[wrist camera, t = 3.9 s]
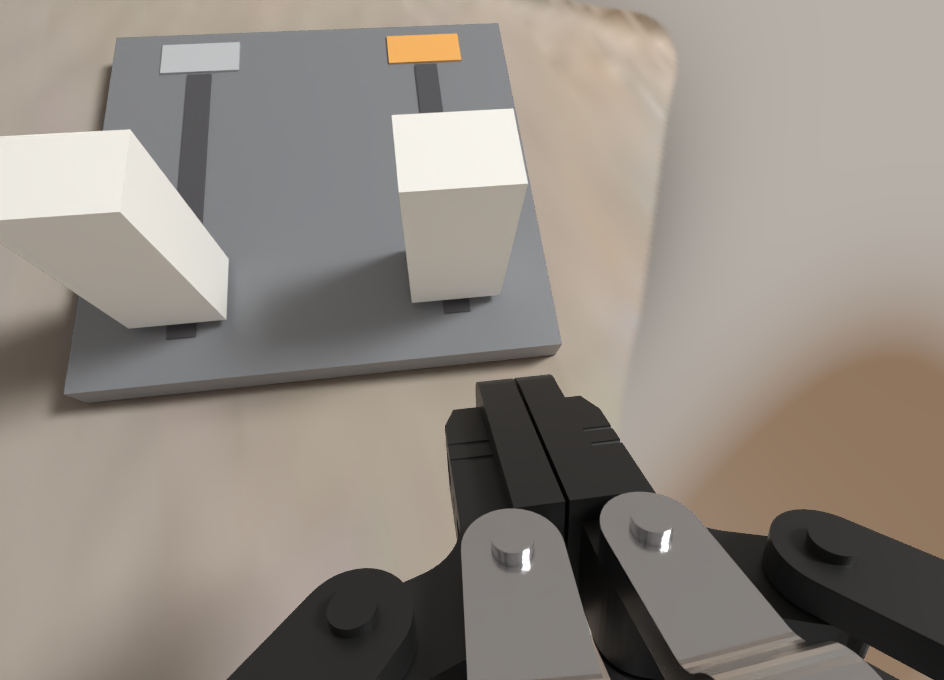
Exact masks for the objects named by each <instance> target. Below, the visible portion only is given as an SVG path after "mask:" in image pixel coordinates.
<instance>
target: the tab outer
mask: <svg viewBox="0 0 944 680" xmlns="http://www.w3.org/2000/svg"><path fill="white" fill-rule="evenodd" d="M392 125H393V136H394V147H395V157H396V168H397V179H398V190H399V199H400V207H401V215H402V224H403V232H404V241H405V249H406V258H407V266H408V274H409V283H410V291H411V300H412V303H417V302H428V301H439V300H450V299H461V298H472V297H483V296H494V295H500V293H501V289H502V285H503V281H504V277H505V273H506V269H507V265H508V261H509V257H510V253H511V249H512V245H513V241H514V237H515V233H516V229H517V225H518V221H519V217H520V213H521V209H522V205H523V201H524V198H525V194H526V190H527V186H528V181H527V176H526V171H525V166H524V161H523V155H522V150H521V145H520V140H519V135H518V130H517V125H516V120H515V115H514V110H513V108H512V109H493V110H475V111H457V112H438V113H420V114H402V115H392Z"/></svg>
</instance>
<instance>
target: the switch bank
mask: <svg viewBox="0 0 944 680" xmlns="http://www.w3.org/2000/svg"><path fill="white" fill-rule="evenodd" d="M512 108H513V110H514V115H515V120H516V125H517V130H518V135H519V140H520V145H521V150H522V155H523V161H524V166H525V171H526V176H527V181H528V186H527V190H526V194H525V198H524V201H523V205H522V209H521V213H520V217H519V221H518V225H517V229H516V233H515V237H514V241H513V245H512V249H511V253H510V257H509V261H508V265H507V269H506V273H505V277H504V281H503V285H502V289H501V293H500V295H494V296H483V297H472V298H461V299H450V300H439V301H428V302H417V303H412V300H411V291H410V283H409V274H408V266H407V258H406V249H405V241H404V232H403V224H402V215H401V207H400V199H399V190H398V179H397V168H396V157H395V147H394V136H393V125H392V115H402V114H420V113H438V112H457V111H475V110H493V109H512ZM128 129H130V130H131V131H132V132H133V134H134V135H135V136H136V138H137V139H138V140H139V142H140V143H141V144H142V146H143V147H144V148H145V149H146V151H147V152H148V153H149V155H150V156H151V157H152V159H153V160H154V161H155V163H156V164H157V165H158V167H159V168H160V169H161V170H162V172H163V173H164V174H165V176H166V177H167V178H168V180H169V181H170V182H171V184H172V185H173V186H174V188H175V189H176V190H177V192H178V193H179V194H180V195H181V197H182V198H183V199H184V201H185V202H186V203H187V205H188V206H189V207H190V209H191V210H192V211H193V213H194V214H195V215H196V216H197V218H198V219H199V220H200V222H201V223H202V224H203V226H204V227H205V228H206V230H207V231H208V232H209V234H210V235H211V236H212V238H213V239H214V240H215V241H216V243H217V244H218V245H219V247H220V248H221V249H222V251H223V252H224V253H225V255H226V256H227V257H228V259H229V265H228V290H227V316H226V320H218V321H207V322H196V323H185V324H174V325H163V326H152V327H141V328H130V329H128V328H127V327H125V326H124V325H122V324H121V323H119V322H118V321H116V320H115V319H113V318H112V317H110V316H109V315H107V314H106V313H104V312H103V311H101V310H100V309H98V308H97V307H95V306H94V305H92V304H91V303H89V302H88V301H86V300H85V299H83V298H82V297H80V296H79V295H78V300H77V307H76V314H75V321H74V327H73V334H72V341H71V348H70V354H69V361H68V368H67V375H66V381H65V388H64V395H67V396H69V397H72V398H75V399H77V400H80V401H83V402H85V403H92V402H102V401H112V400H122V399H131V398H141V397H151V396H160V395H170V394H180V393H189V392H199V391H209V390H218V389H228V388H238V387H248V386H257V385H267V384H277V383H286V382H296V381H306V380H315V379H325V378H335V377H344V376H354V375H364V374H373V373H383V372H393V371H403V370H412V369H422V368H432V367H441V366H451V365H461V364H470V363H480V362H490V361H499V360H509V359H519V358H528V357H538V356H548V355H555V354H556V352H557V351H558V349H559V348H560V346H561V344H562V342H561V337H560V332H559V327H558V322H557V317H556V312H555V307H554V302H553V297H552V292H551V287H550V282H549V277H548V272H547V267H546V262H545V257H544V252H543V247H542V242H541V237H540V232H539V227H538V222H537V217H536V211H535V206H534V201H533V196H532V191H531V186H530V181H529V176H528V171H527V166H526V161H525V156H524V151H523V146H522V141H521V136H520V131H519V126H518V121H517V116H516V111H515V106H514V101H513V96H512V91H511V86H510V81H509V76H508V70H507V65H506V60H505V55H504V50H503V45H502V40H501V35H500V30H499V25H498V23H492V24H465V25H439V26H413V27H387V28H361V29H334V30H308V31H282V32H256V33H230V34H203V35H177V36H151V37H125V38H116V45H115V51H114V58H113V65H112V72H111V78H110V85H109V92H108V99H107V105H106V112H105V119H104V126H103V131H110V130H128Z"/></svg>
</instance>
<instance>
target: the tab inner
mask: <svg viewBox="0 0 944 680" xmlns="http://www.w3.org/2000/svg"><path fill="white" fill-rule="evenodd" d="M0 243H1V244H2V245H4V246H5V247H7V248H8V249H10V250H11V251H13V252H14V253H16V254H17V255H19V256H20V257H22V258H23V259H25V260H26V261H28V262H29V263H31V264H32V265H34V266H35V267H37V268H38V269H40V270H41V271H43V272H44V273H46V274H47V275H49V276H50V277H52V278H53V279H55V280H56V281H58V282H59V283H61V284H62V285H64V286H65V287H67V288H68V289H70V290H71V291H73V292H74V293H76V294H77V295H79V296H80V297H82V298H83V299H85V300H86V301H88V302H89V303H91V304H92V305H94V306H95V307H97V308H98V309H100V310H101V311H103V312H104V313H106V314H107V315H109V316H110V317H112V318H113V319H115V320H116V321H118V322H119V323H121V324H122V325H124V326H125V327H127V328H128V329H130V328H141V327H152V326H163V325H174V324H185V323H196V322H207V321H218V320H226V316H227V290H228V265H229V259H228V257H227V256H226V255H225V253H224V252H223V251H222V249H221V248H220V247H219V245H218V244H217V243H216V241H215V240H214V239H213V238H212V236H211V235H210V234H209V232H208V231H207V230H206V228H205V227H204V226H203V224H202V223H201V222H200V220H199V219H198V218H197V216H196V215H195V214H194V213H193V211H192V210H191V209H190V207H189V206H188V205H187V203H186V202H185V201H184V199H183V198H182V197H181V195H180V194H179V193H178V192H177V190H176V189H175V188H174V186H173V185H172V184H171V182H170V181H169V180H168V178H167V177H166V176H165V174H164V173H163V172H162V170H161V169H160V168H159V167H158V165H157V164H156V163H155V161H154V160H153V159H152V157H151V156H150V155H149V153H148V152H147V151H146V149H145V148H144V147H143V146H142V144H141V143H140V142H139V140H138V139H137V138H136V136H135V135H134V134H133V132H132V131H131V130H130V129H128V130H110V131H91V132H73V133H55V134H37V135H18V136H0Z"/></svg>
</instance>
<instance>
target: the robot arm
mask: <svg viewBox="0 0 944 680" xmlns="http://www.w3.org/2000/svg"><path fill="white" fill-rule="evenodd" d="M445 434H446V447H447V459H448V472H449V484H450V493H451V501H452V508H453V515H454V522H455V529H456V536H457V543H456V545H455V547H454V548H453V550H452V551H451V553H450V554H449V555H448V556H447V558H446V559H444V560H443V561H442V562H441V563H440V564H439V565H437V566H436V567H434V568H433V569H431V570H429V571H428V572H426V573H424V574H422V575H419V576H417V577H415V578H413V579H410V580H408V581H406V582H404V583H403V582H402V581H401V580H400V579H399V578H397V577H396V576H394V575H393V574H391V573H388V572H386V571H383V570H379V569H371V568H363V569H355V570H350V571H346V572H344V573H341V574H338V575H336V576H334V577H332V578H330V579H328V580H327V581H325V582H324V583H323V584H321V585H320V586H319V587H317V588H316V589H315V590H314V591H313V592H312V593H311V594H310V595H309V596H308V597H307V598H306V599H305V600H304V601H303V602H302V603H301V604H300V605H299V606H298V607H297V608H296V609H295V610H294V611H293V612H292V613H291V614H290V615H289V616H288V617H287V618H286V619H285V620H284V621H283V622H282V624H281V625H280V626H279V627H278V628H277V629H276V630H275V631H274V632H273V633H272V634H271V635H270V636H269V637H268V638H267V639H266V640H265V641H264V642H263V643H262V644H261V645H260V646H259V647H258V648H257V649H256V650H255V651H254V652H253V653H252V654H251V655H250V656H249V657H248V658H247V659H246V660H245V661H244V662H243V663H242V664H241V665H240V666H239V667H238V668H237V670H236V671H235V672H234V673H233V674H232V675H231V676H230V677H229V678H228V679H227V680H899V679H897V678H895V677H893V676H891V675H890V674H888V673H886V672H884V671H882V670H880V669H879V668H877V667H875V666H873V665H871V664H870V663H868V662H866V661H864V658H865V655H866V653H867V650H868V648H869V646H872V647H874V648H876V649H877V650H879V651H881V652H883V653H885V654H887V655H888V656H890V657H892V658H894V659H896V660H898V661H900V662H902V663H903V664H906V665H907V666H909V667H911V668H913V669H915V670H917V671H918V672H920V673H922V674H924V675H926V676H928V677H930V678H931V679H933V680H944V560H943V559H940V558H938V557H936V556H933V555H931V554H928V553H926V552H923V551H921V550H919V549H916V548H914V547H912V546H909V545H907V544H904V543H902V542H899V541H897V540H895V539H892V538H890V537H887V536H885V535H883V534H880V533H878V532H875V531H873V530H871V529H868V528H866V527H863V526H861V525H858V524H856V523H854V522H851V521H849V520H846V519H844V518H841V517H838V516H836V515H833V514H829V513H825V512H821V511H816V510H806V509H802V510H792V511H787V512H784V513H782V514H780V515H779V516H777V517H776V518H775V519H774V520H773V522H772V524H771V526H770V530H769V534H768V536H761V535H752V534H745V533H736V532H728V531H721V530H714V529H710V528H707V527H705V526H704V525H703V524H702V522H701V521H700V520H699V519H698V518H697V517H696V515H694V514H693V512H692V511H691V510H689V509H688V508H687V507H685V506H684V505H682V504H681V503H679V502H678V501H675V500H673V499H671V498H669V497H666V496H663V495H660V494H656V493H655V491H654V490H653V488H652V487H651V485H650V484H649V482H648V481H647V479H646V478H645V476H644V475H643V473H642V472H641V470H640V469H639V467H638V466H637V465H636V463H635V461H634V460H633V458H632V457H631V455H630V454H629V452H628V451H627V449H626V448H625V446H624V445H623V443H620V439H619V437H618V436H617V434H616V433H615V431H614V430H613V429H611V425H610V424H609V422H608V421H607V419H606V418H605V416H604V415H603V413H602V411H601V410H600V409H599V408H598V407H596V406H595V405H593V404H592V403H590V402H589V401H587V400H586V399H584V398H583V397H581V396H574V397H564V395H563V393H562V392H561V390H560V388H559V386H558V385H557V383H556V381H555V379H554V378H553V376H552V375H550V374H549V375H540V376H530V377H521V378H515V379H514V380H513V379H503V380H493V381H484V382H476V408H467V409H458V410H453V412H452V414H451V416H450V417H449V419H448V421H447V423H446V425H445ZM585 616H586V617H585ZM586 619H587V621H586ZM587 622H588V624H589V627H590V630H591V635H590V631H589V628H588V624H587Z"/></svg>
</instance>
